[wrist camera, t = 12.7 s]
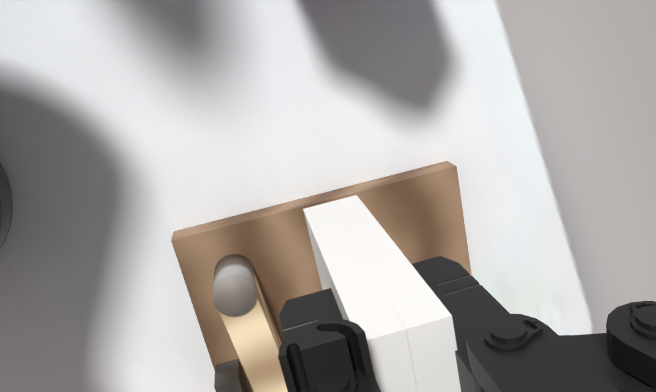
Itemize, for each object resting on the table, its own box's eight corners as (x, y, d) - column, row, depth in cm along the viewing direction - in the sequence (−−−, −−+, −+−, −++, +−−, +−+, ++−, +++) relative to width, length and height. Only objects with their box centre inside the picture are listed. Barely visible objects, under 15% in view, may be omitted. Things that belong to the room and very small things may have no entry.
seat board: (237, 423, 50) (237, 463, 45) (173, 231, 44) (167, 255, 39) (474, 351, 53) (498, 383, 48) (447, 160, 46) (471, 175, 42)
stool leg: (208, 262, 43) (206, 286, 39) (246, 248, 43) (247, 271, 39) (273, 414, 48) (277, 450, 44) (306, 402, 48) (313, 436, 44)
